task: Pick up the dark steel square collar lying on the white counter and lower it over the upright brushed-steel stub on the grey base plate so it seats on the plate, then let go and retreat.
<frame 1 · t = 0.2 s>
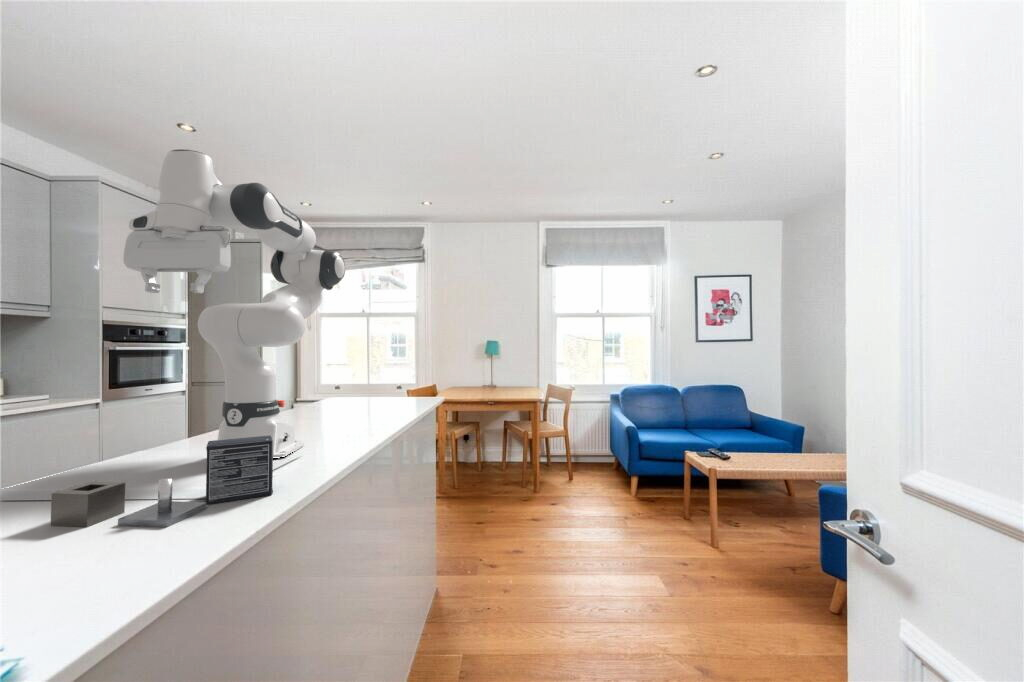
hand: (174, 292, 86), 39 cm above the worktop, tool pointing down, fingers open, 8 cm apart
shaft stand: (164, 516, 71), on the worktop
small box: (239, 496, 81), on the worktop
collar: (89, 518, 69), on the worktop
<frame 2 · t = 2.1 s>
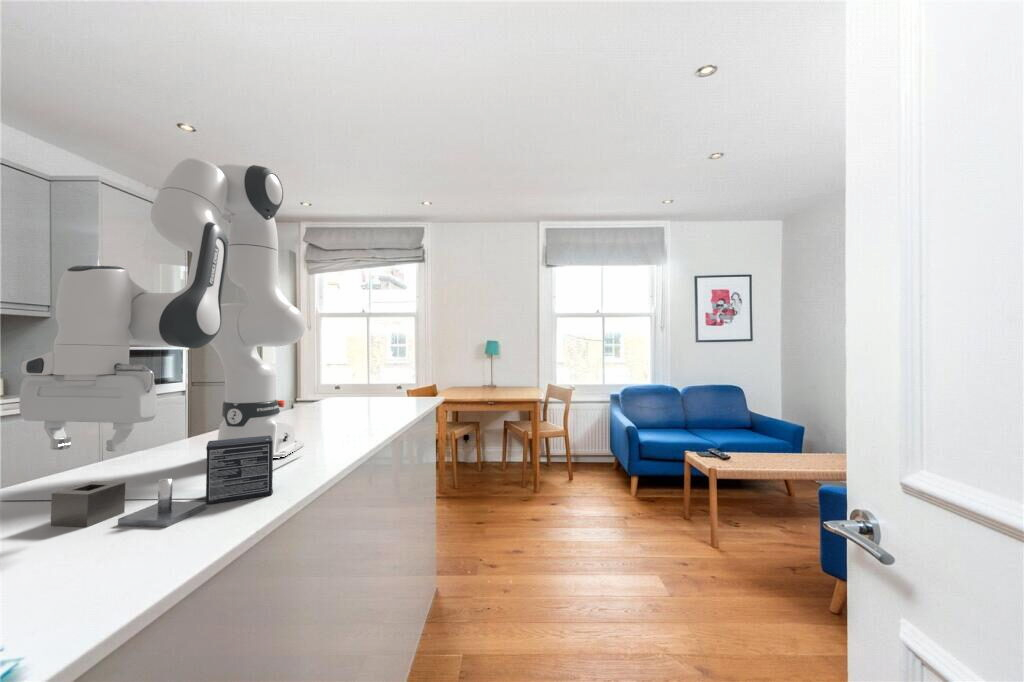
hand: (88, 449, 69), 11 cm above the worktop, tool pointing down, fingers open, 8 cm apart
nothing on the worktop moved.
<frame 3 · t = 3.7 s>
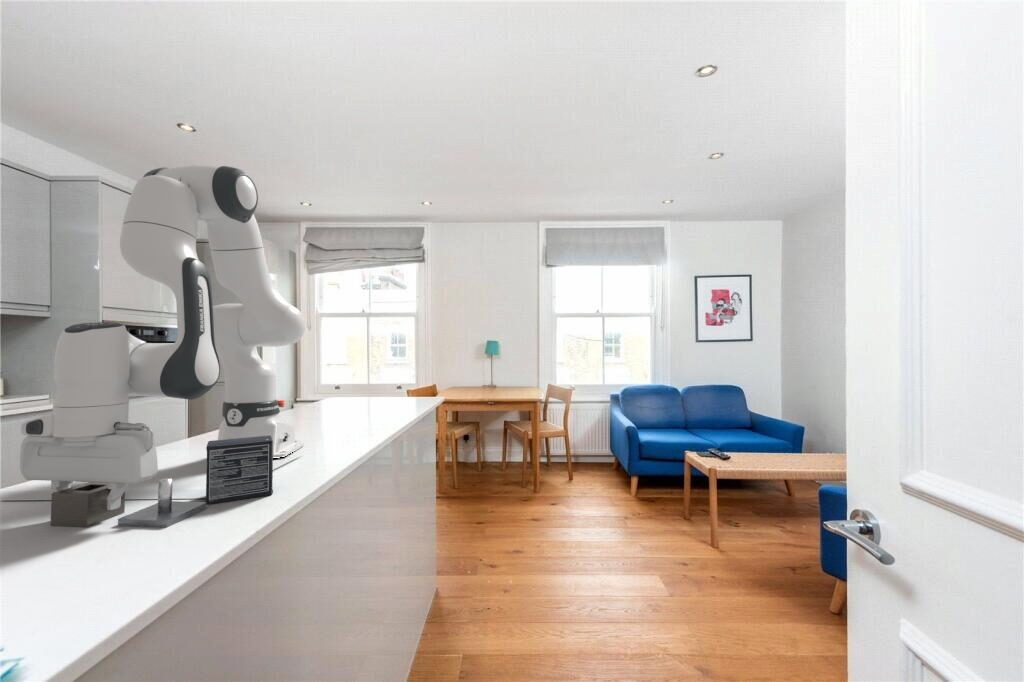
hand: (89, 508, 69), 2 cm above the worktop, tool pointing down, fingers closed on collar, 6 cm apart
collar: (89, 518, 69), on the worktop, touching gripper
everything else where it was.
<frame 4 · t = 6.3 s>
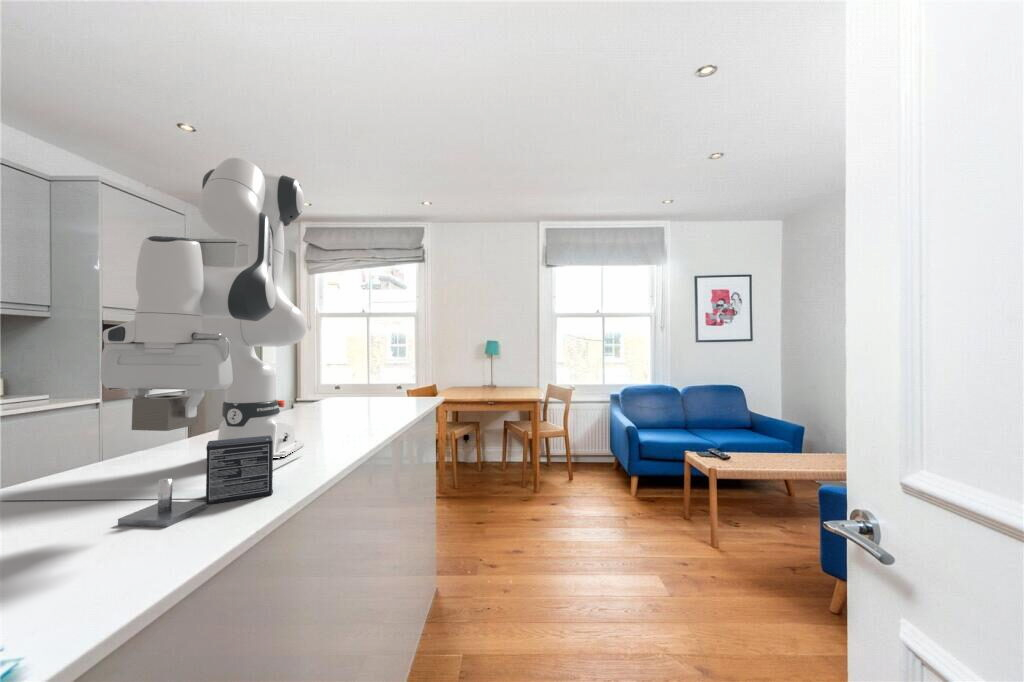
hand: (166, 416, 71), 16 cm above the worktop, tool pointing down, fingers closed on collar, 6 cm apart
collar: (166, 427, 71), point 15 cm above the worktop, touching gripper
everything else where it was.
when the fingers open (4 cm above the worktop, at t = 9.1 s): collar drops 1 cm, resting on shaft stand.
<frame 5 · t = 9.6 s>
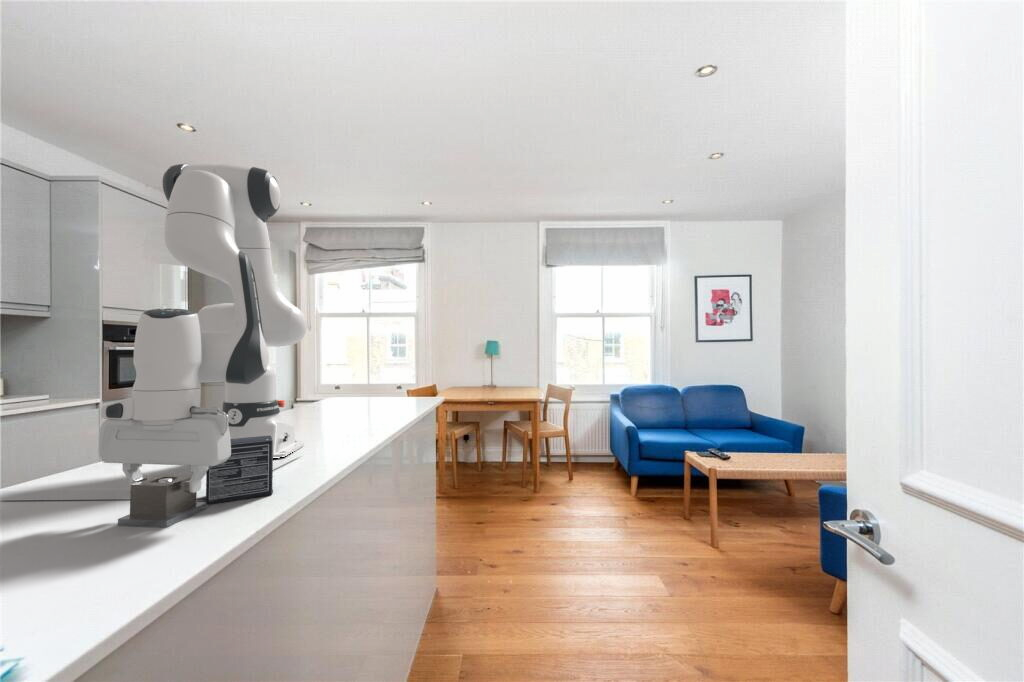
hand: (165, 490, 71), 4 cm above the worktop, tool pointing down, fingers open, 8 cm apart
collar: (164, 510, 71), point 1 cm above the worktop, touching shaft stand
everything else where it was.
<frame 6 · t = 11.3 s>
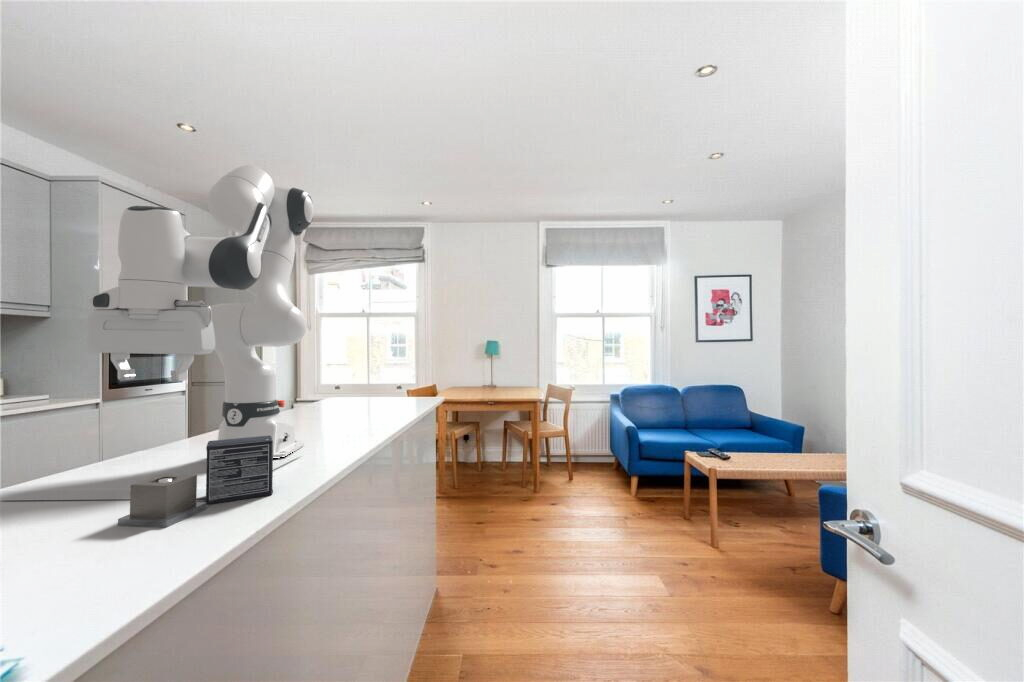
hand: (152, 380, 74), 22 cm above the worktop, tool pointing down, fingers open, 8 cm apart
nothing on the worktop moved.
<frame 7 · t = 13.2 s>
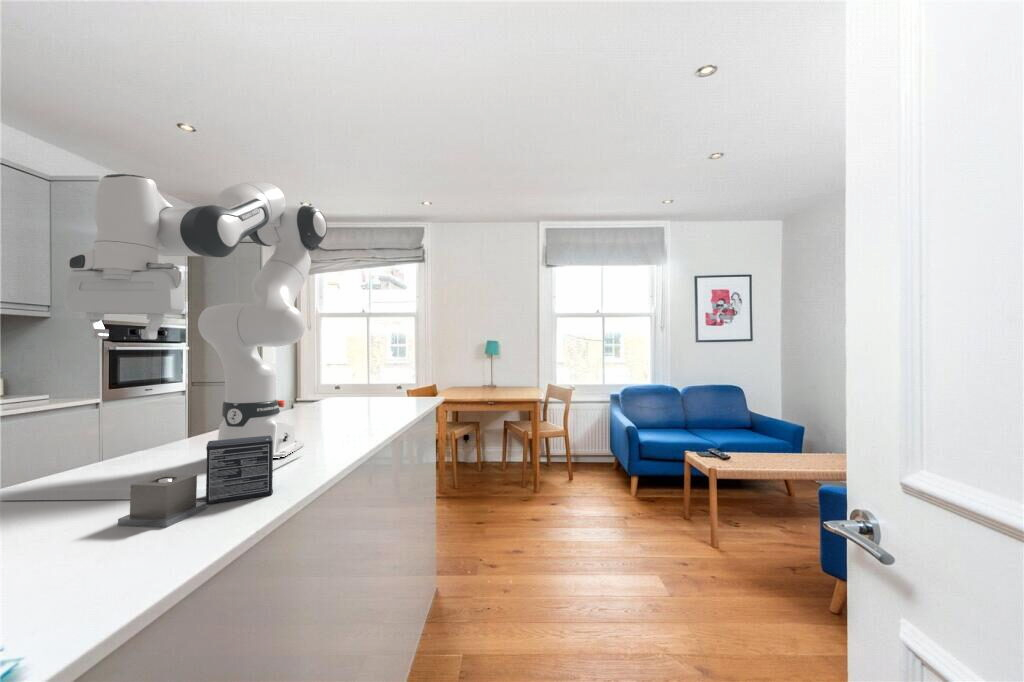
hand: (124, 339, 78), 29 cm above the worktop, tool pointing down, fingers open, 8 cm apart
nothing on the worktop moved.
at the end: collar 0.0 cm off-centre on the shaft stand, point 1.0 cm above the shaft stand's base; collar tilted 0°; the gripper is holding nothing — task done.
